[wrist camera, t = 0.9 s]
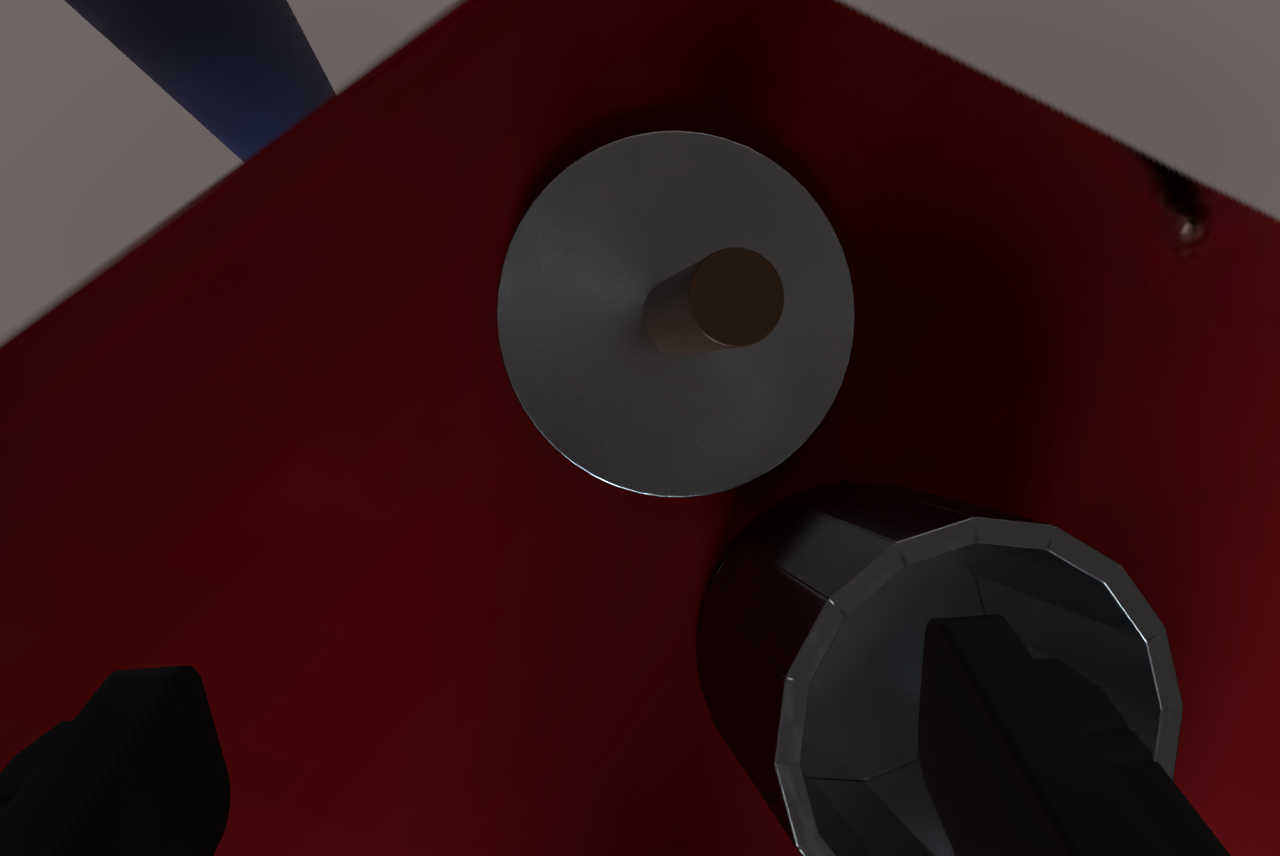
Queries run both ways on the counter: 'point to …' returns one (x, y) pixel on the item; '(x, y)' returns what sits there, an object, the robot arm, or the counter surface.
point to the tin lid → (675, 314)
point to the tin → (899, 649)
